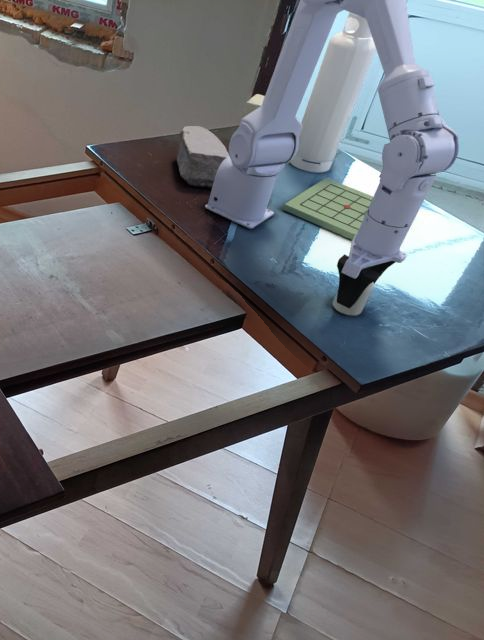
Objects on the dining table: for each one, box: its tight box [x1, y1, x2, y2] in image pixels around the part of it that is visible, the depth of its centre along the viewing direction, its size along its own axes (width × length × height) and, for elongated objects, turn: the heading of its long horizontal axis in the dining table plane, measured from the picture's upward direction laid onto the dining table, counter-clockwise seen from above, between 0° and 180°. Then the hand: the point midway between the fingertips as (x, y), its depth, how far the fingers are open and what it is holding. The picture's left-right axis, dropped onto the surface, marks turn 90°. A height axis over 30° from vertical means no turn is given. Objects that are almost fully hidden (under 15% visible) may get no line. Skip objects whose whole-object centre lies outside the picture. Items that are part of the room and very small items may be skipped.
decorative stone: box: [176, 125, 229, 189], centre depth 129 cm, size 15×7×10 cm
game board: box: [282, 177, 374, 241], centre depth 122 cm, size 16×16×1 cm
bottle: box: [289, 12, 377, 173], centre depth 128 cm, size 8×8×28 cm
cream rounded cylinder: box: [331, 282, 375, 316], centre depth 99 cm, size 4×4×6 cm
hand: (351, 298), depth 100 cm, fingers closed on cream rounded cylinder, 4 cm apart
